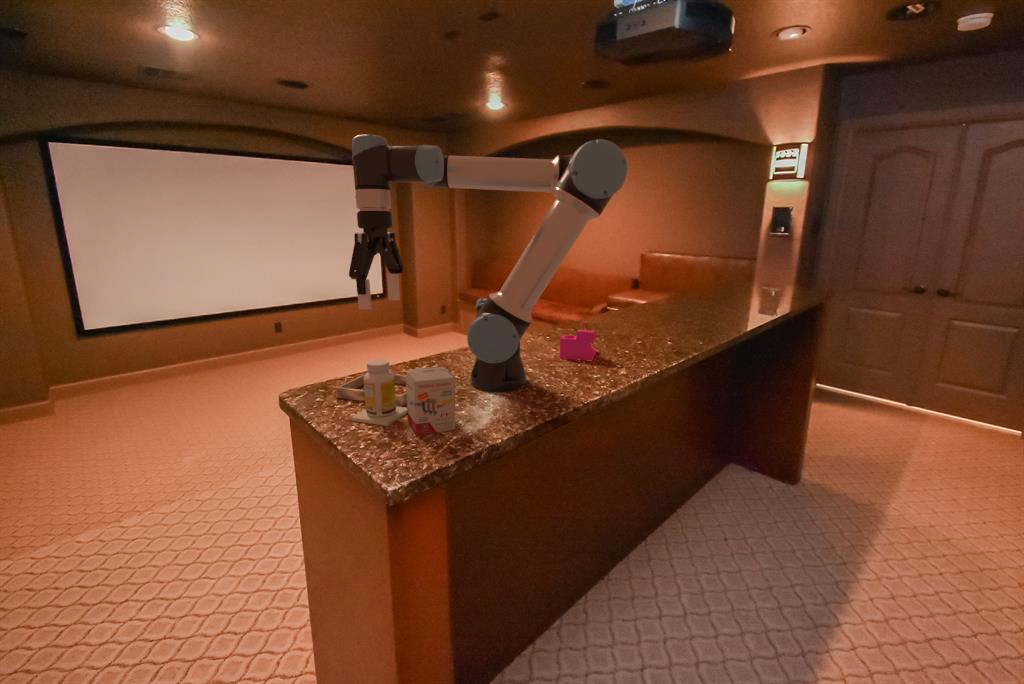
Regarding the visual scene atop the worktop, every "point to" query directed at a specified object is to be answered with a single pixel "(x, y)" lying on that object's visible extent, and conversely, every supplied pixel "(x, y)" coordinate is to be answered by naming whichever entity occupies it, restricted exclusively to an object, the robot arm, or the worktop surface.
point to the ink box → (430, 400)
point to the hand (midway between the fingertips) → (380, 304)
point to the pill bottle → (379, 389)
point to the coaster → (380, 420)
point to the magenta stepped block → (578, 345)
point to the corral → (351, 392)
